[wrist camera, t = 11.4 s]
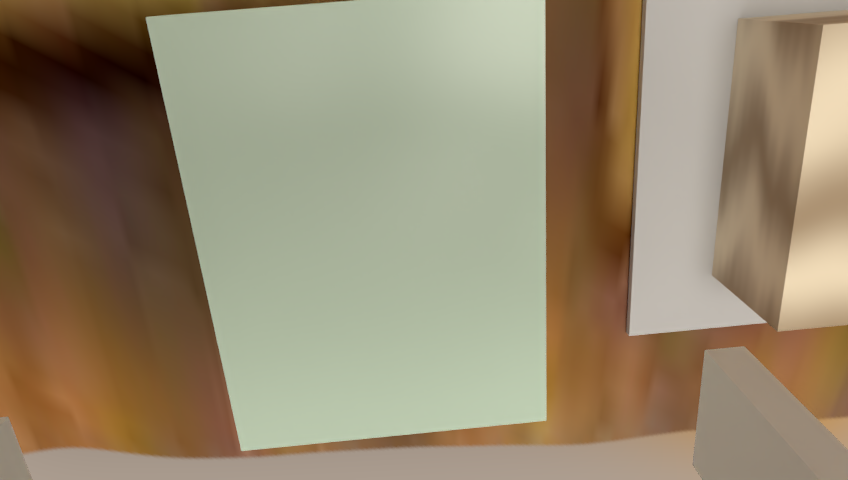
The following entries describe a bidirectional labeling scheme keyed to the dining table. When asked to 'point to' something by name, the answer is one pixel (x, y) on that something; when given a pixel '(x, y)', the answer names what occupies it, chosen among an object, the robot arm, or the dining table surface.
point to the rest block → (787, 171)
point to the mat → (686, 160)
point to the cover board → (366, 210)
